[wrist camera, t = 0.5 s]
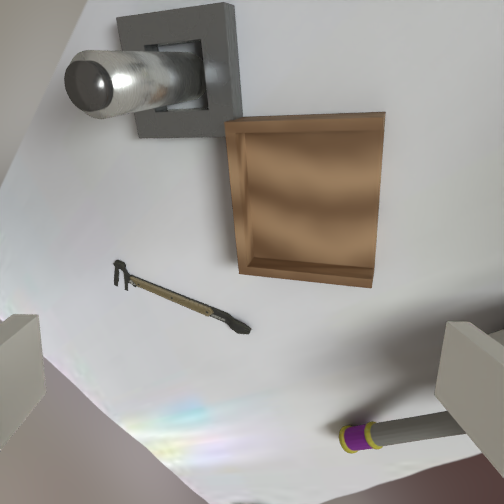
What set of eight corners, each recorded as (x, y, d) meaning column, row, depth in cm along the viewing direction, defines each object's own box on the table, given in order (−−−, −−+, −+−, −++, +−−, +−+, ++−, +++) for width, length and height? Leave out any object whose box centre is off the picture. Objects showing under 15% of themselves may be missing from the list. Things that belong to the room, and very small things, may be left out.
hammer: (349, 516, 46) (677, 533, 24) (302, 474, 46) (593, 452, 24) (381, 410, 56) (631, 354, 35) (343, 374, 56) (572, 295, 34)
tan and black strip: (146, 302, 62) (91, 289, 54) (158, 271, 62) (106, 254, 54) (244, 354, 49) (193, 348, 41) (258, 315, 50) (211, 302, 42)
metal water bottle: (165, 54, 39) (49, 53, 26) (205, 50, 37) (102, 47, 25) (172, 101, 40) (67, 121, 28) (211, 99, 39) (118, 119, 26)
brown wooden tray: (238, 117, 39) (224, 122, 36) (385, 111, 34) (383, 117, 31) (250, 259, 46) (239, 273, 43) (374, 271, 41) (371, 288, 38)
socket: (131, 19, 38) (116, 17, 36) (234, 5, 35) (223, 2, 33) (151, 134, 43) (139, 138, 41) (244, 132, 39) (235, 136, 37)
